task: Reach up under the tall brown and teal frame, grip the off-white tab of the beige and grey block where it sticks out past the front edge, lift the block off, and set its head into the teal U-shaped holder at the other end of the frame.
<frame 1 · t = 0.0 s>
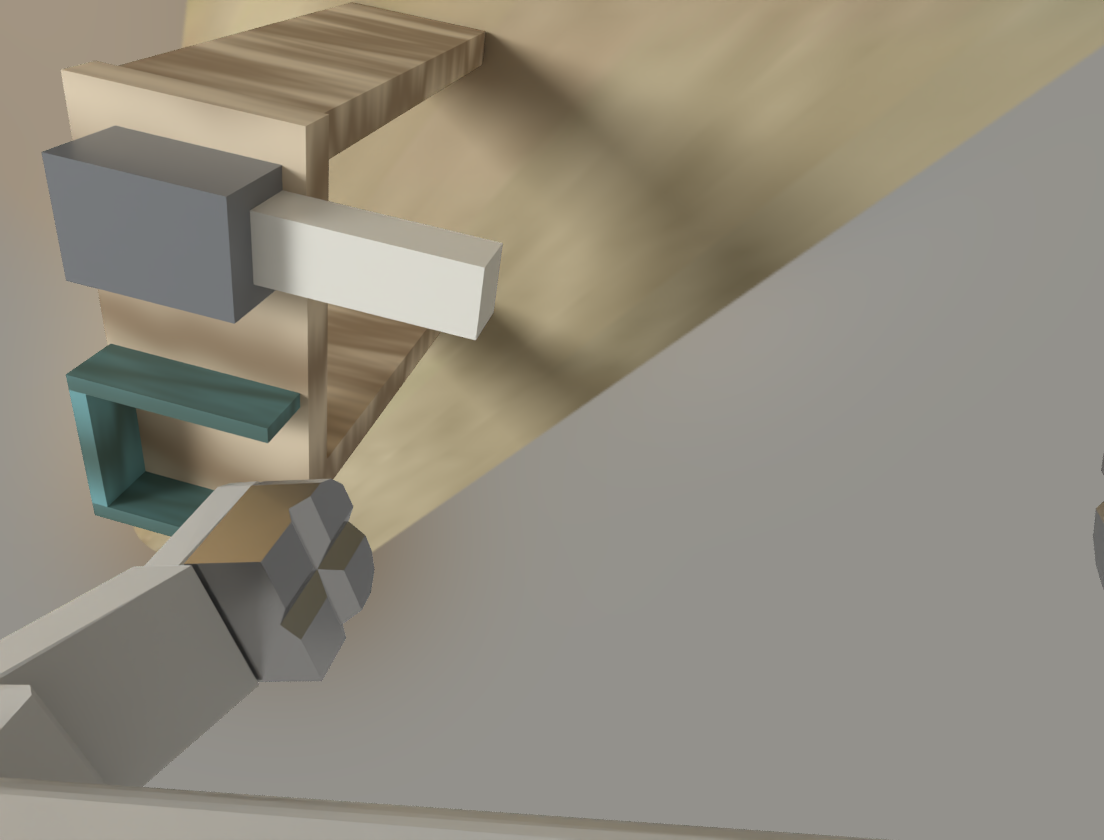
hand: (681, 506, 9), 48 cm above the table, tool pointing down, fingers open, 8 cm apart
brown and teal frame: (408, 170, 58), on the table
beige and grey block: (306, 231, 33), point 26 cm above the table, touching brown and teal frame
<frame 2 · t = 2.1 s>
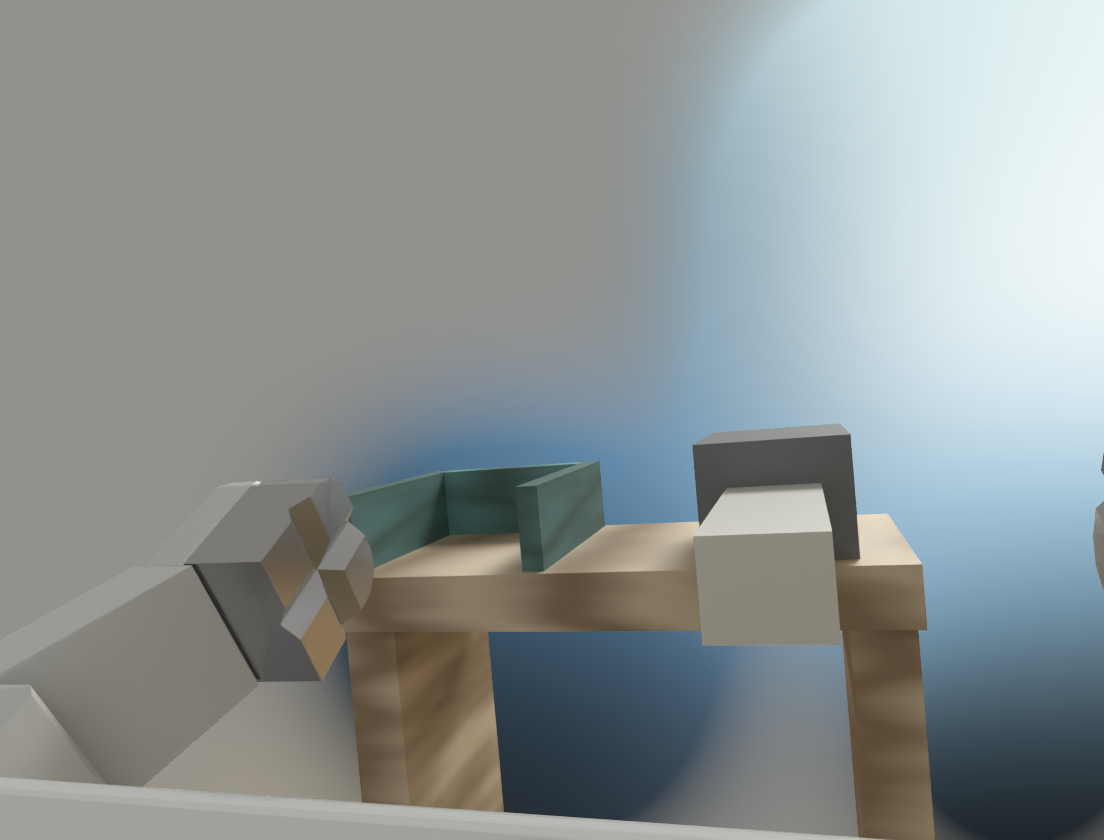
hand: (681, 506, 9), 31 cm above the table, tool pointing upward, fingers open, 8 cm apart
beige and grey block: (778, 567, 26), point 26 cm above the table, touching brown and teal frame
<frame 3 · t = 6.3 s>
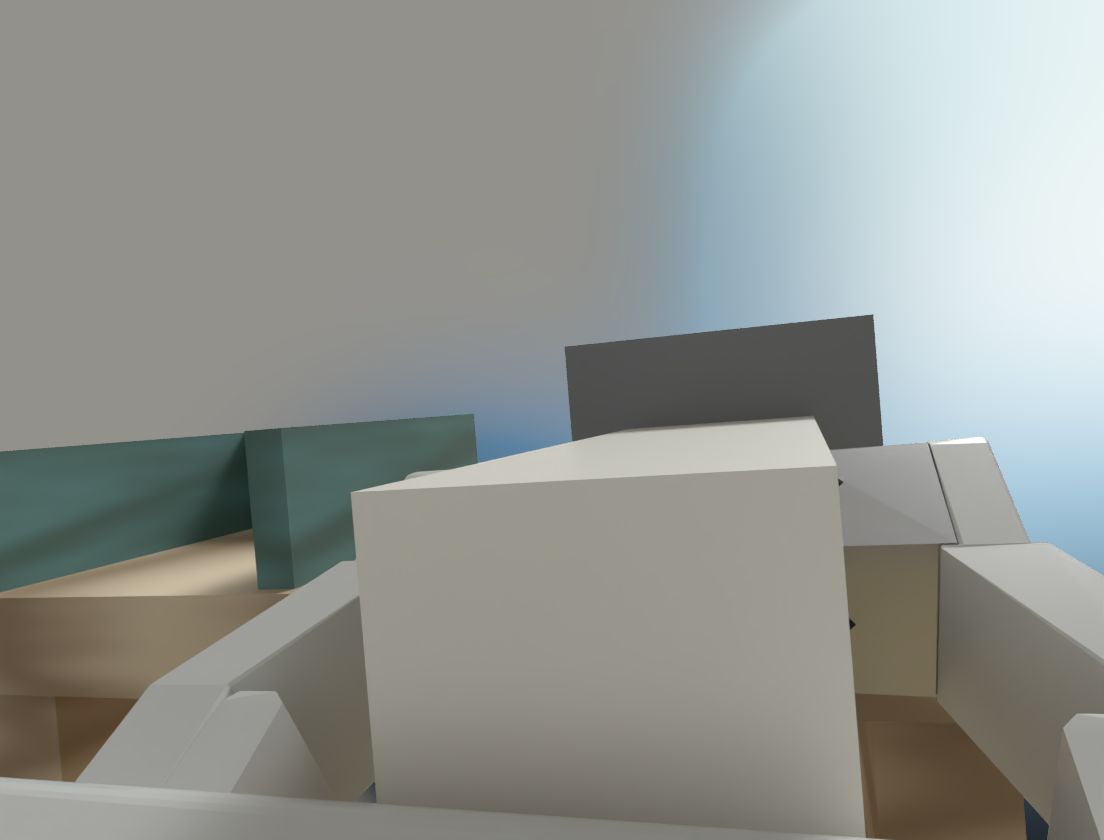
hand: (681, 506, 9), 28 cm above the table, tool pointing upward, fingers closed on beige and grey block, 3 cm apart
beige and grey block: (724, 587, 13), point 26 cm above the table, touching gripper, brown and teal frame
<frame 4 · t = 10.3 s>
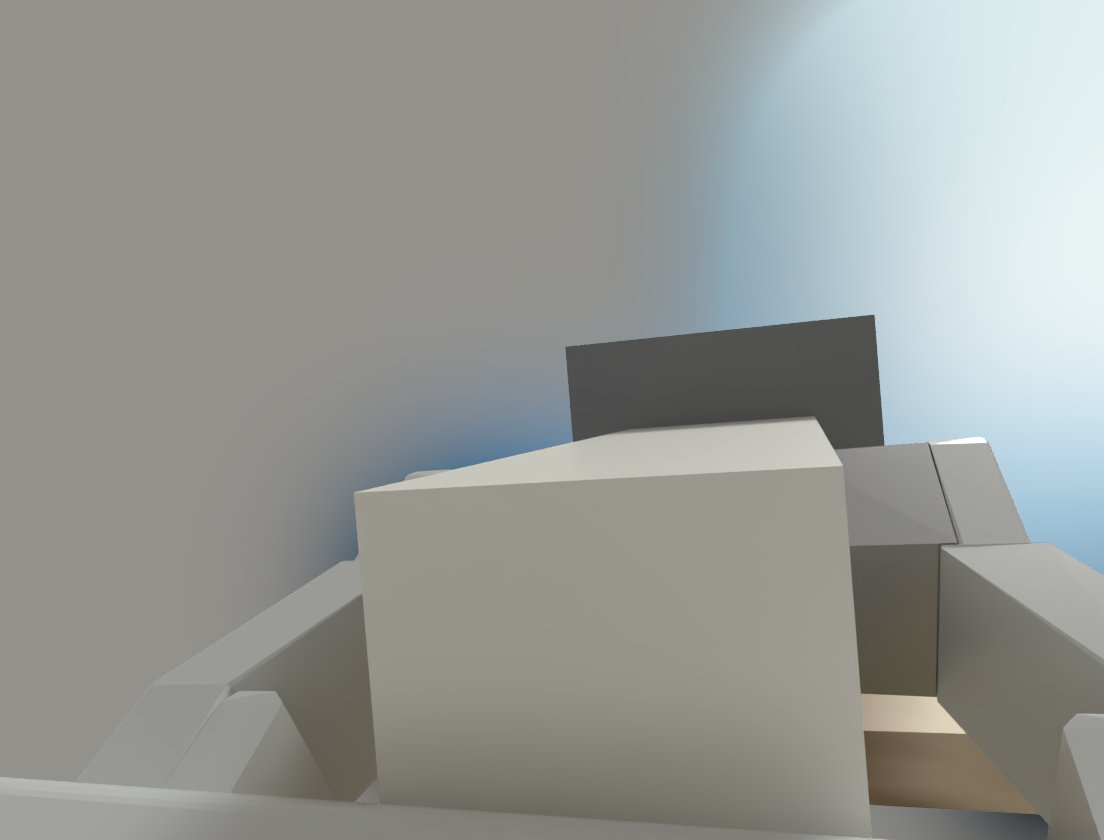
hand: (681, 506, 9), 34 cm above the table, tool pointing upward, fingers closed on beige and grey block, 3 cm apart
beige and grey block: (725, 588, 13), point 32 cm above the table, touching gripper
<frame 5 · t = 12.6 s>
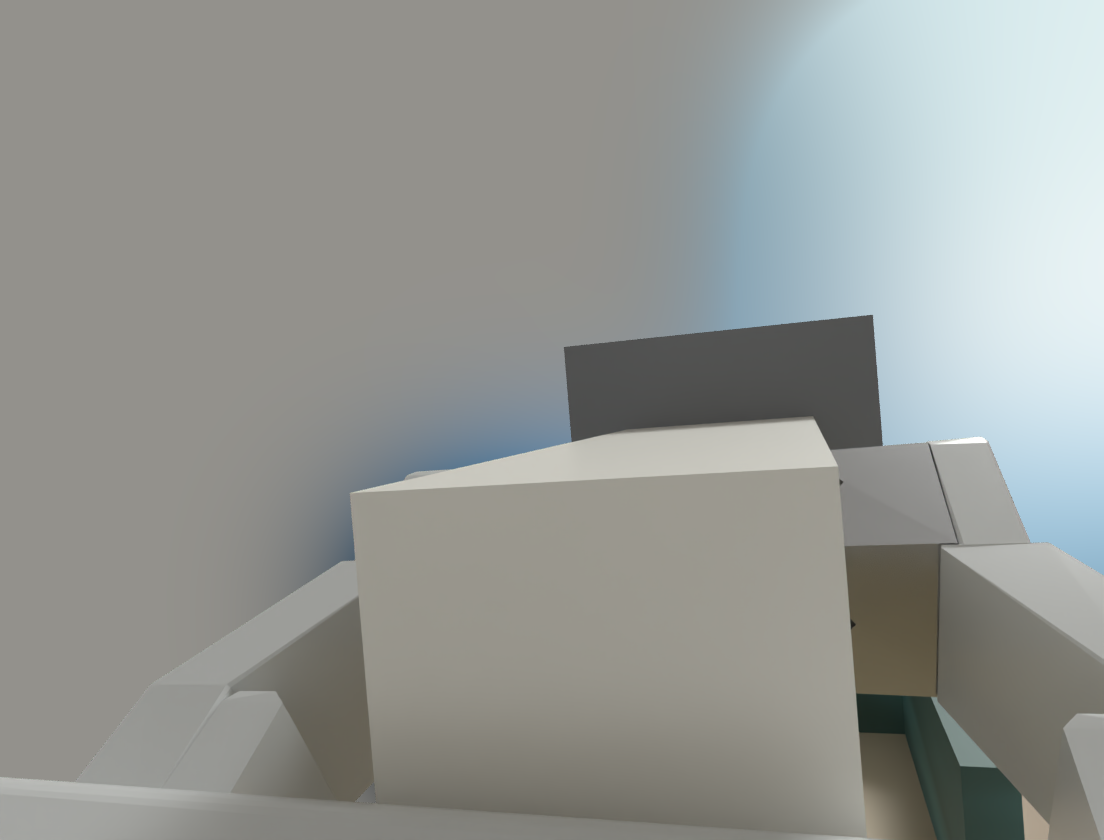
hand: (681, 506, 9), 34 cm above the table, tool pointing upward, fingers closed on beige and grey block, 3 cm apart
beige and grey block: (723, 588, 13), point 32 cm above the table, touching gripper
when the fingers open (29 cm above the table, at t = 14.6 s): beige and grey block stays where it is, resting on brown and teal frame.
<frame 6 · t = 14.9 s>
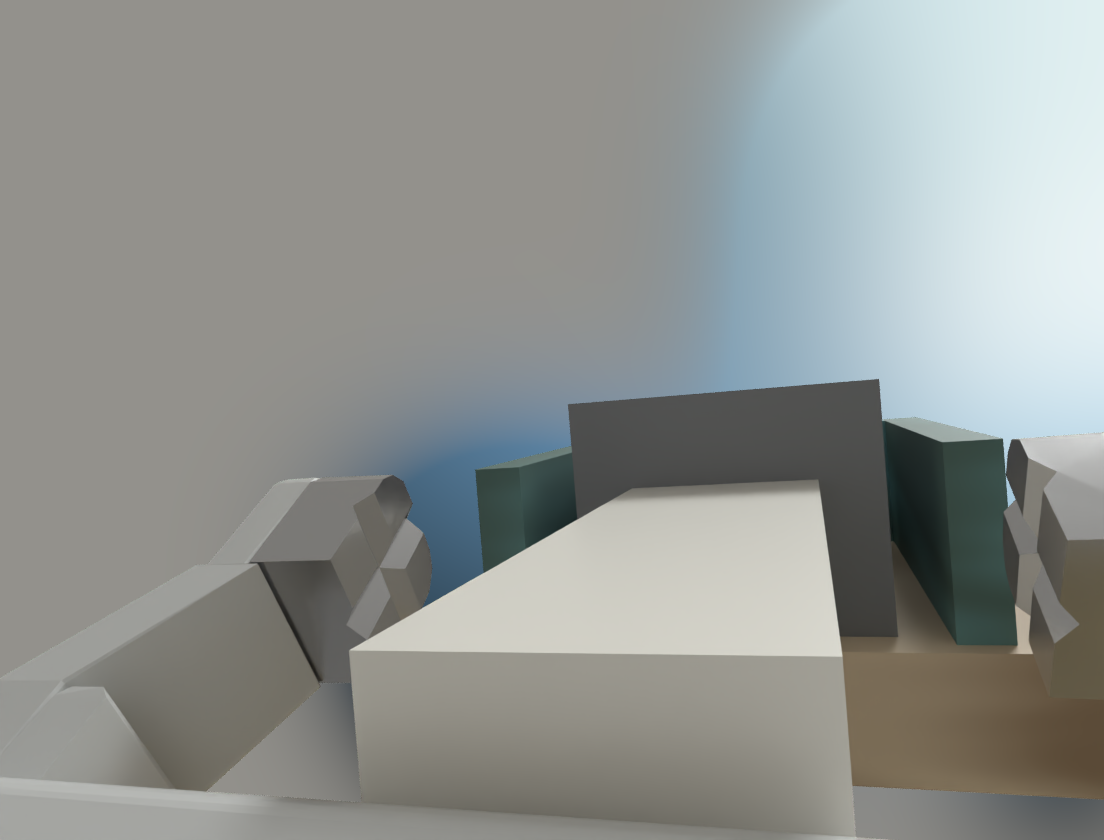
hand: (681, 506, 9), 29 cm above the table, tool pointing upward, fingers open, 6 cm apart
beige and grey block: (728, 654, 13), point 26 cm above the table, touching brown and teal frame
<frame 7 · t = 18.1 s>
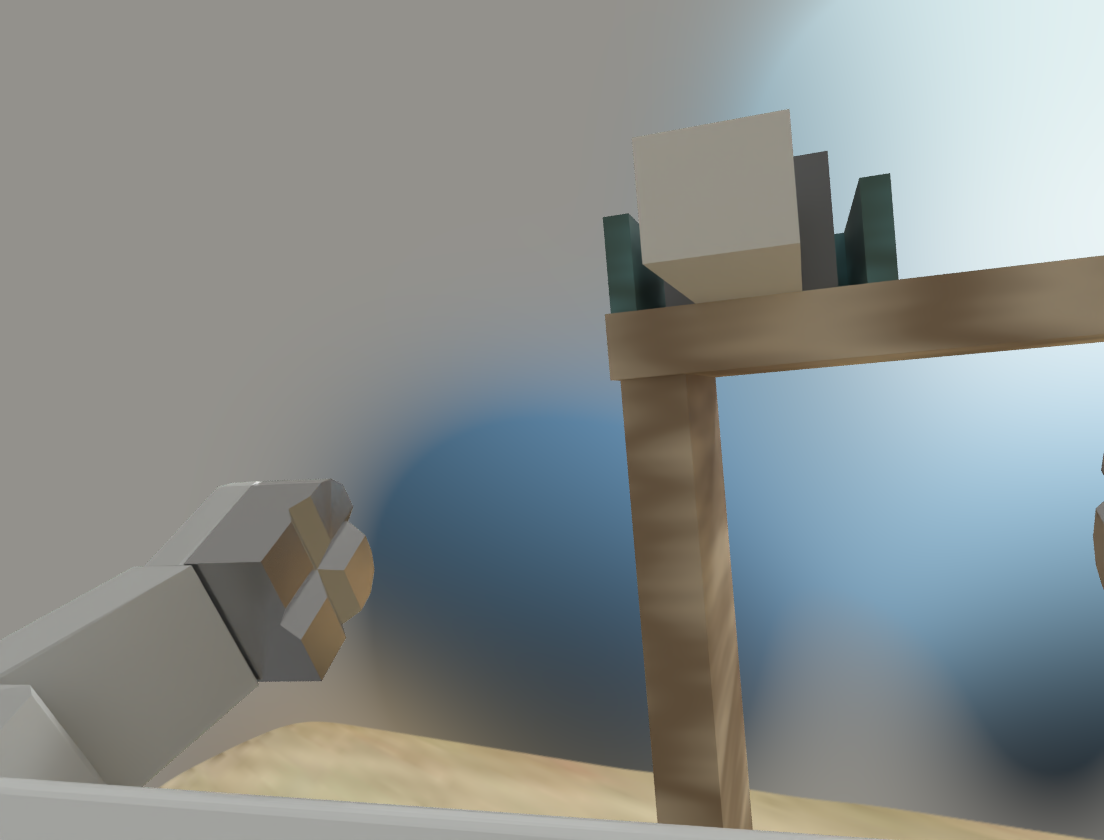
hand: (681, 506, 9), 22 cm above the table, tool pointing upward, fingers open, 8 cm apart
beige and grey block: (747, 296, 23), point 26 cm above the table, touching brown and teal frame
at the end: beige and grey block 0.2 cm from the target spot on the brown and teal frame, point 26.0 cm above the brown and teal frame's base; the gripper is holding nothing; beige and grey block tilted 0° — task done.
